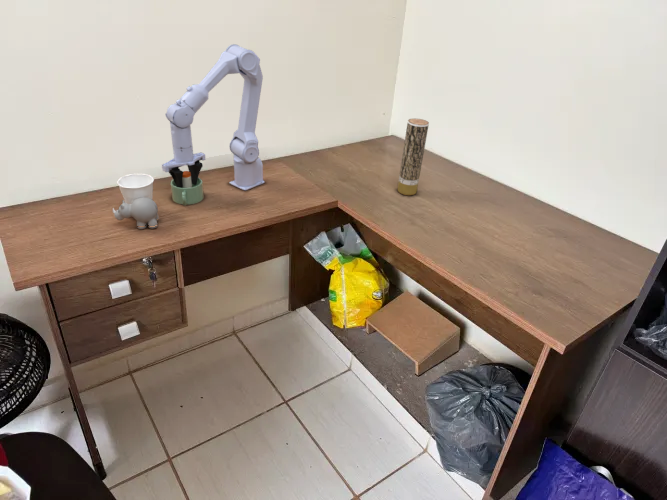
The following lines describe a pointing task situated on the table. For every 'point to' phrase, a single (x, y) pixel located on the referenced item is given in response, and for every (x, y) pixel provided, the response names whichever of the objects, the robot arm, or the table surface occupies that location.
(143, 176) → the cup
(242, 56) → the robot arm
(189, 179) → the glue stick
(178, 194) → the mug
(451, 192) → the table surface
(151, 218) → the chubby cartoon animal
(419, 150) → the paper tube
